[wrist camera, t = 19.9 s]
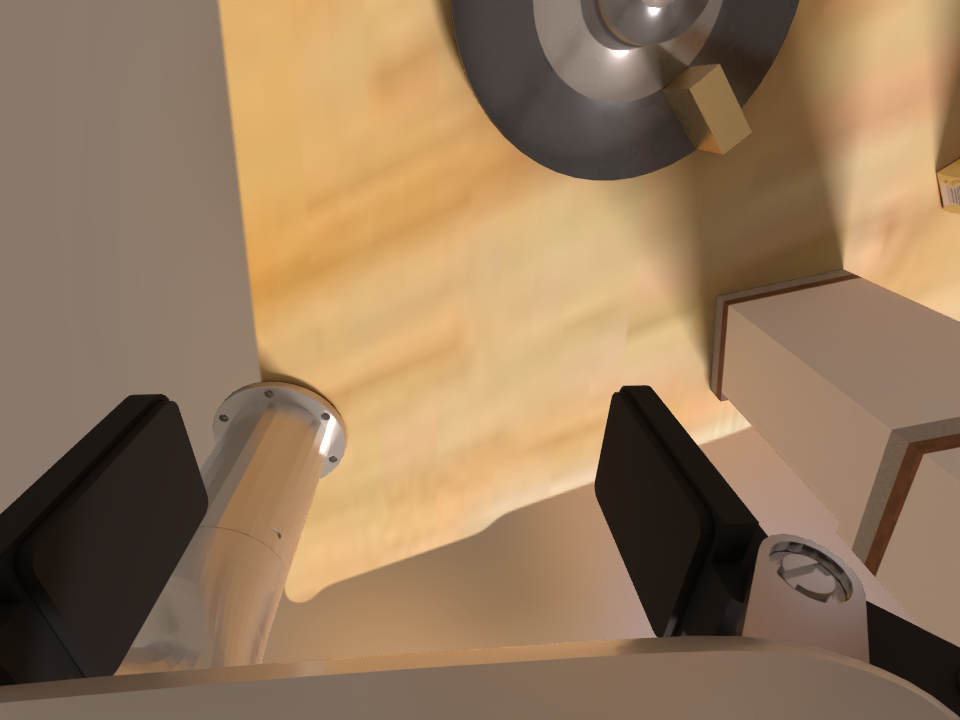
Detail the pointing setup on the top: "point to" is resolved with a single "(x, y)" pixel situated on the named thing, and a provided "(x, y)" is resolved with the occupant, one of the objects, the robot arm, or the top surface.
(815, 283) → the tall white box
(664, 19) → the grey metallic short cylinder
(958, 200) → the candy box
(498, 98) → the turntable
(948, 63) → the top surface
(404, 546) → the top surface
